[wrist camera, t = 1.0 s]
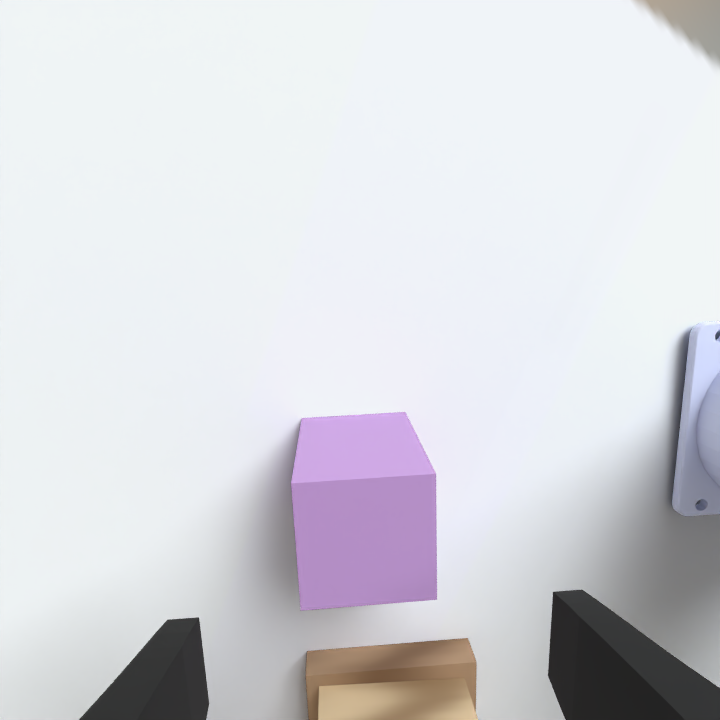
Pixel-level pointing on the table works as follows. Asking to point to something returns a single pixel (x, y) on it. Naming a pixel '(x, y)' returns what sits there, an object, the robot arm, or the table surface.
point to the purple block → (363, 512)
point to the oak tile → (397, 701)
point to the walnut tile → (389, 666)
